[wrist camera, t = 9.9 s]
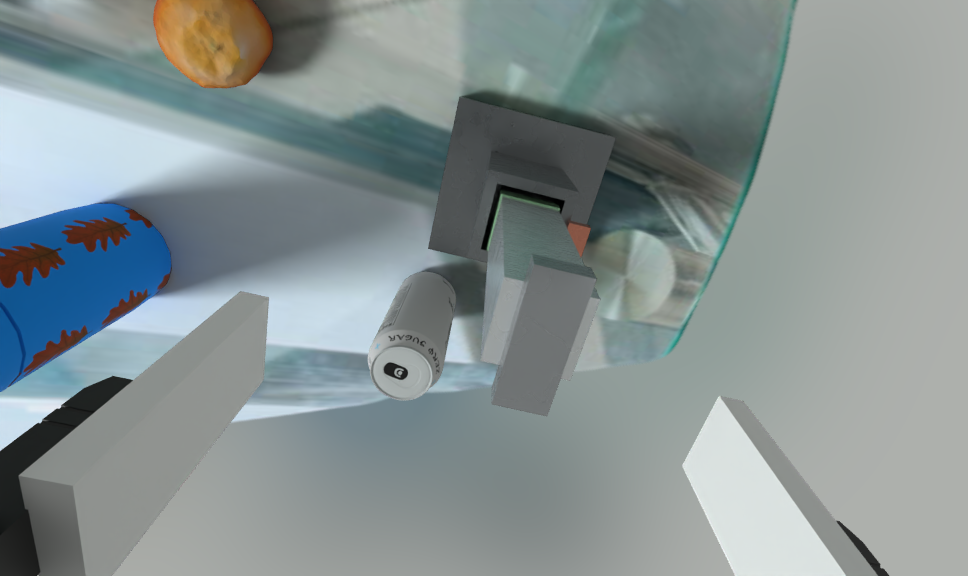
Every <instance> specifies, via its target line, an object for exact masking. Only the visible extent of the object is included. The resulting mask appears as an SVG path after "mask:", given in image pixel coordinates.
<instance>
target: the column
mask: <svg viewBox="0 0 968 576" xmlns="http://www.w3.org/2000/svg"><path fill="white" fill-rule="evenodd" d="M559 211H560V207H559V205H558V204H556V203H555V201H554V199H553V197H549V196H545V195H541V194H537V193H533V192H529V191H525V190H521V189H517V188H513V187H509V186H505V185H501V188H500V192H499V196H498V200H497V204H496V207H495V211H494V215H493V219H492V223H491V227H490V232H489V239H488V243H487V251H488V261H487V276H486V290H485V305H484V320H483V334H482V349H481V361H484V362H488V363H493V364H497V365H499V366H498V369H497V372H496V376H495V379H494V382H493V386H492V404H493V405H498V406H502V407H506V408H511V409H516V410H520V411H525V412H529V413H534V414H538V415H543V416H547V415H548V412H549V410H550V407H551V404H552V401H553V398H554V396H555V393H556V390H557V388H558V385H559V382H560V379H564V380H568V381H570V380H571V377H572V374H573V372H574V369H575V367H576V364H577V361H578V359H579V356H580V353H581V351H582V348H583V345H584V343H585V340H586V337H587V335H588V332H589V329H590V327H591V324H592V321H593V318H594V316H595V313H596V310H597V308H598V305H599V302H600V300H601V299H600V297H599V295H598V293H597V291H596V289H595V287H594V286H595V283H596V280H597V279H596V277H595V275H594V273H593V271H592V269H591V268H590V267H586V266H585V265H584V263H583V261H582V259H581V257H580V255H579V253H578V250H577V248H576V246H575V244H574V242H573V240H572V238H571V235H570V233H569V231H568V229H567V227H566V225H565V223H564V221H563V218H562V216H561V214H560V212H559Z"/></svg>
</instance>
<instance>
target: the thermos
mask: <svg viewBox="0 0 968 576" xmlns="http://www.w3.org/2000/svg"><path fill="white" fill-rule="evenodd" d="M171 269H172V268H171V258H170V252H169V250H168V247H167V245H166V243H165V241H164V239H163V236H162V235H161V234H160V233H159V232H158V231H157V229H156V228H155V227H154V226H153V225H152V224H151V222H150V221H148V220H147V219H145V218H144V217H143V216H141V215H140V214H138V213H137V212H135V211H134V210H132V209H129V208H126V207H123V206H120V205H117V204H91V205H87V206H82V207H78V208H73V209H68V210H64V211H60V212H57V213H53V214H50V215H46V216H43V217H39V218H36V219H32V220H29V221H25V222H22V223H19V224H15V225H12V226H8V227H5V228H1V229H0V392H1V391H3V390H5V389H6V388H7V387H10V386H11V385H13V384H14V383H16V382H18V381H19V380H21V379H23V378H24V377H26V376H27V375H29V374H31V373H32V372H34V371H36V370H37V369H39V368H40V367H42V366H44V365H45V364H47V363H49V362H50V361H52V360H53V359H55V358H57V357H58V356H60V355H61V354H63V353H65V352H66V351H68V350H70V349H71V348H73V347H74V346H76V345H78V344H79V343H81V342H83V341H84V340H86V339H87V338H89V337H91V336H92V335H94V334H96V333H97V332H99V331H100V330H102V329H104V328H105V327H107V326H109V325H110V324H112V323H113V322H115V321H117V320H118V319H120V318H122V317H123V316H125V315H126V314H128V313H130V312H131V311H133V310H134V309H136V308H137V307H138V306H140V305H141V304H143V303H144V302H145V301H147V300H148V299H150V298H151V297H152V296H154V295H155V294H157V293H158V292H159V291H160V290H161V289H162V288H163V287H164V286H165V285H166V284H167V282H168V279H169V275H170V272H171Z"/></svg>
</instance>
